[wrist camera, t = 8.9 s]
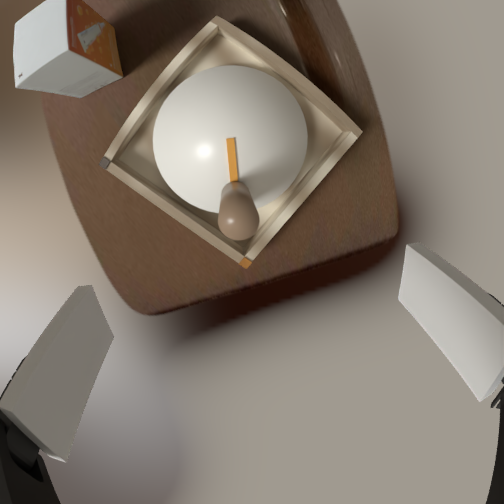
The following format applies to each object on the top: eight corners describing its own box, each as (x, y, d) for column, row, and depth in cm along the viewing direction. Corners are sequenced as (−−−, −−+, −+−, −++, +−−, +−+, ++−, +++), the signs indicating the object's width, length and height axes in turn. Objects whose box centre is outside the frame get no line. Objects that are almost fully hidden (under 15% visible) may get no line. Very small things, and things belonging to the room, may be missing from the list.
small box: (125, 77, 24) (69, 50, 12) (80, 99, 24) (13, 90, 12) (115, 26, 21) (66, -15, 9) (72, 48, 21) (12, 24, 9)
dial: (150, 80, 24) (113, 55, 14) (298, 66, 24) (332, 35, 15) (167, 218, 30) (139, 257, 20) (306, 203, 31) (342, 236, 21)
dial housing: (217, 27, 23) (216, 14, 19) (349, 131, 29) (363, 131, 26) (111, 161, 28) (98, 164, 25) (244, 255, 34) (246, 268, 31)
